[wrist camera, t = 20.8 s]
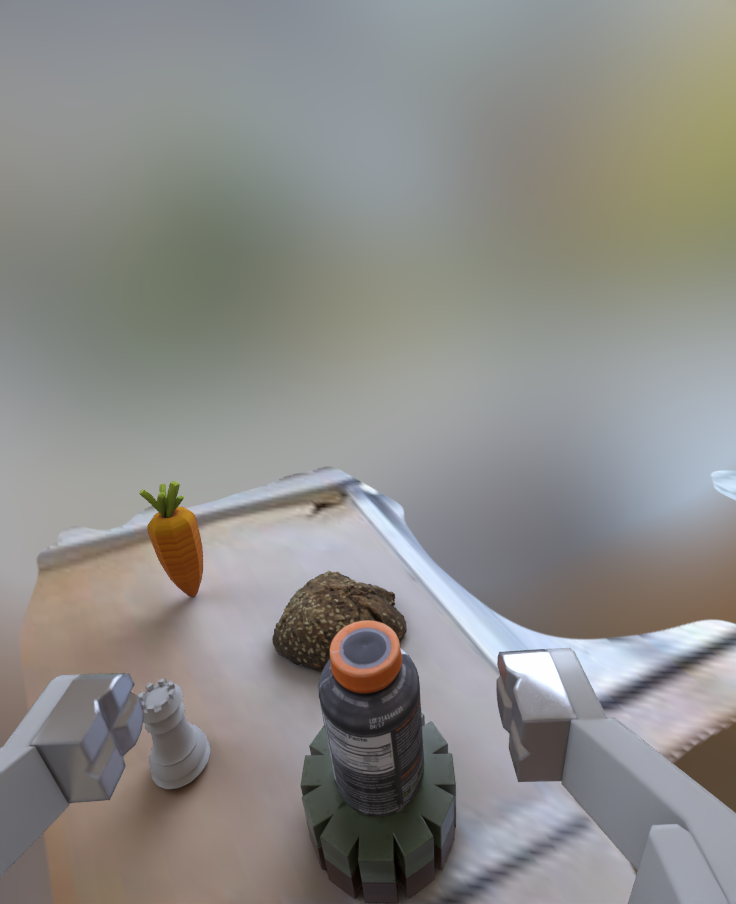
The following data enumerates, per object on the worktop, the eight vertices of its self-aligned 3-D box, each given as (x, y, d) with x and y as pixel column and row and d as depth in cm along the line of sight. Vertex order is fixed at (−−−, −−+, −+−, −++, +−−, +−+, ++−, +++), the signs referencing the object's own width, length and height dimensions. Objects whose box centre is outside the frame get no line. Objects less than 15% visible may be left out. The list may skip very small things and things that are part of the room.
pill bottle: (388, 711, 35) (378, 592, 30) (443, 779, 30) (441, 650, 25) (317, 761, 32) (293, 637, 27) (366, 844, 27) (348, 712, 23)
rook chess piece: (146, 759, 38) (116, 690, 34) (200, 725, 40) (178, 657, 37) (161, 806, 35) (130, 735, 31) (220, 766, 37) (196, 696, 33)
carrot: (162, 606, 54) (123, 493, 48) (190, 578, 58) (158, 471, 52) (197, 614, 52) (162, 498, 46) (223, 585, 57) (194, 475, 50)
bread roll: (257, 654, 47) (248, 615, 45) (321, 576, 57) (316, 542, 55) (374, 697, 41) (369, 656, 39) (422, 603, 51) (420, 566, 49)
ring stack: (349, 944, 27) (340, 902, 25) (291, 784, 35) (281, 743, 33) (485, 842, 31) (487, 798, 29) (404, 720, 39) (402, 679, 37)
